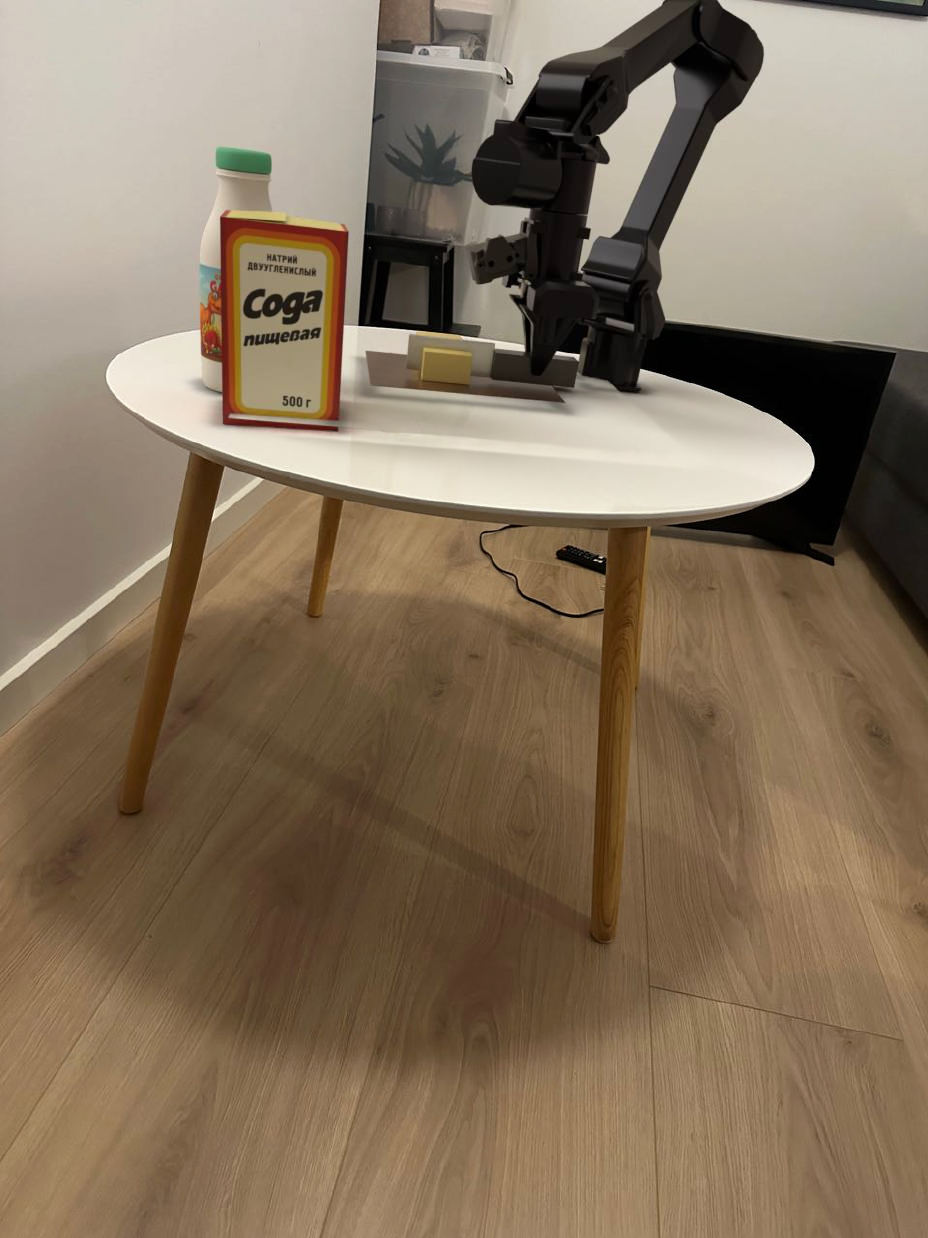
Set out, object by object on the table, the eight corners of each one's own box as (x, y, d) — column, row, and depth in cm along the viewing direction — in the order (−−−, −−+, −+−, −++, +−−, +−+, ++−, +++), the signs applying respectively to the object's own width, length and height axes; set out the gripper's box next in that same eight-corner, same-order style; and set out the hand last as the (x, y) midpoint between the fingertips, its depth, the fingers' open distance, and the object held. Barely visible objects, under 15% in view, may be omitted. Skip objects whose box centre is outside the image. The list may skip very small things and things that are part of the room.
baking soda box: (335, 410, 78) (344, 218, 71) (338, 431, 73) (348, 226, 65) (227, 402, 76) (225, 204, 69) (222, 423, 71) (219, 210, 63)
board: (533, 375, 102) (534, 366, 101) (564, 412, 88) (566, 402, 87) (364, 359, 98) (365, 350, 98) (369, 395, 84) (370, 384, 84)
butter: (457, 361, 98) (460, 335, 97) (465, 376, 92) (468, 347, 91) (414, 357, 97) (416, 330, 96) (419, 372, 91) (422, 343, 90)
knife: (569, 382, 93) (575, 350, 92) (574, 388, 91) (580, 354, 90) (405, 365, 90) (408, 331, 89) (406, 371, 88) (409, 336, 87)
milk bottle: (193, 376, 83) (187, 140, 73) (272, 376, 86) (275, 152, 77) (212, 398, 77) (207, 145, 67) (295, 397, 80) (302, 157, 71)
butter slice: (467, 380, 91) (470, 351, 89) (469, 385, 89) (473, 355, 88) (420, 376, 90) (423, 347, 88) (421, 380, 88) (424, 350, 87)
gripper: (466, 195, 90) (449, 346, 98) (493, 207, 74) (470, 387, 82) (567, 208, 92) (543, 355, 100) (615, 223, 76) (582, 397, 84)
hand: (533, 372), depth 91 cm, fingers closed on knife, 2 cm apart
